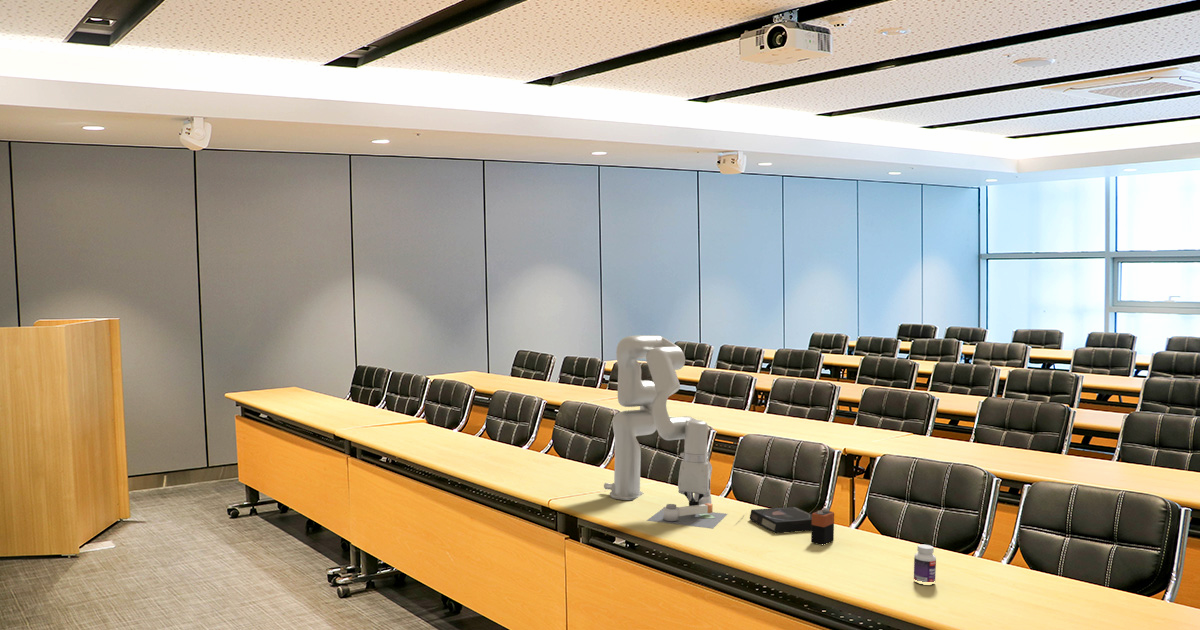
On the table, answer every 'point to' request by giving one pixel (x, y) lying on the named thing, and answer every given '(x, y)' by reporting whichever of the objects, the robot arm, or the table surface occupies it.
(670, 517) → the white bar with knob
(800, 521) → the flat black box
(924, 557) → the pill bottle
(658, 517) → the dial board
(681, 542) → the table surface
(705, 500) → the plastic bottle
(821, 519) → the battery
